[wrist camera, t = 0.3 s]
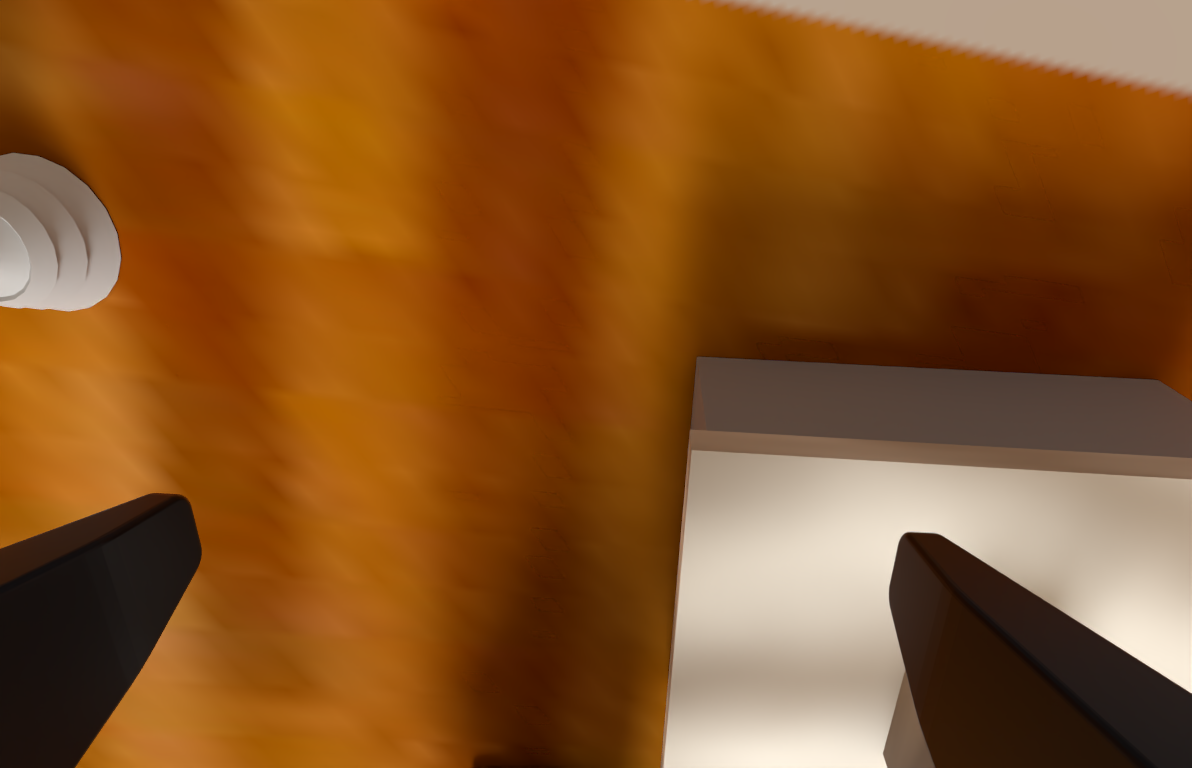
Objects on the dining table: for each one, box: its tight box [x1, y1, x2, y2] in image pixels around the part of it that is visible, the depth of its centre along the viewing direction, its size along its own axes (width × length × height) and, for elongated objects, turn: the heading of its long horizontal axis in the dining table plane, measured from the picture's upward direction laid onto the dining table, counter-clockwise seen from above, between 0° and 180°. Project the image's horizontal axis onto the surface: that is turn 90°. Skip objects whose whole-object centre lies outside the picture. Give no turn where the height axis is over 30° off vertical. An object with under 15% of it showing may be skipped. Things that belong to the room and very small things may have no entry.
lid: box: [661, 430, 1192, 768], centre depth 18 cm, size 15×15×6 cm
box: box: [691, 357, 1192, 458], centre depth 22 cm, size 14×14×6 cm
